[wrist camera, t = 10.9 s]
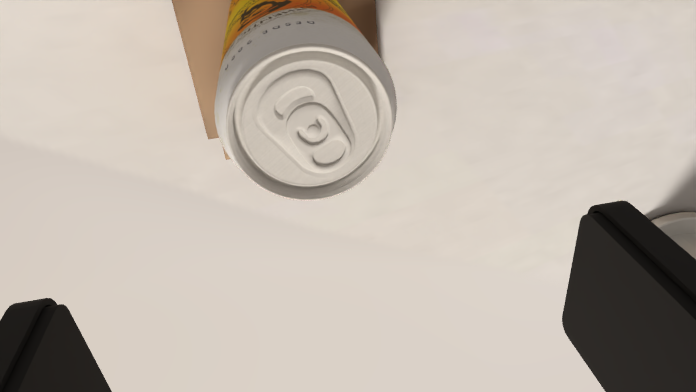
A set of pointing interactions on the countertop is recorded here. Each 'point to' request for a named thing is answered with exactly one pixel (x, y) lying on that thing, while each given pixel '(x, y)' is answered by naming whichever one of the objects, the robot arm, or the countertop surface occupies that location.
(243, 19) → the beer can
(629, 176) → the countertop surface
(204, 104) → the holder
